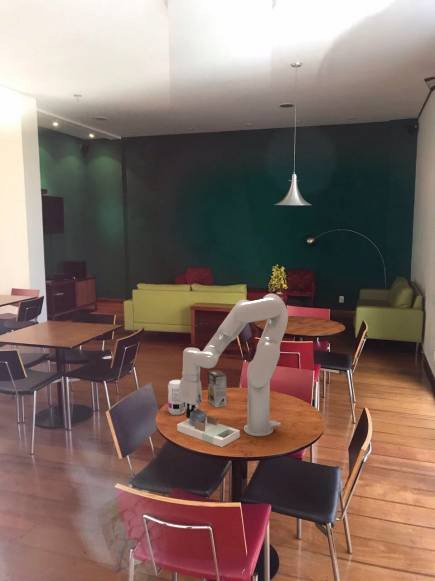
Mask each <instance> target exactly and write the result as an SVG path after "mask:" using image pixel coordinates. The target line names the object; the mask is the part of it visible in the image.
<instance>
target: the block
mask: <svg viewBox="0 0 435 581" xmlns="http://www.w3.org/2000/svg"><path fill="white" fill-rule="evenodd" d="M207 416H208V414H207V412H205V411H203V410H202V409H200V408H195V409H194V411H192V412H191V413H190V418H188V419H189V423H191V424H192V425H194V426H195V421H198V422H201V423H204V424H205V420H206V419H207Z"/></svg>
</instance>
